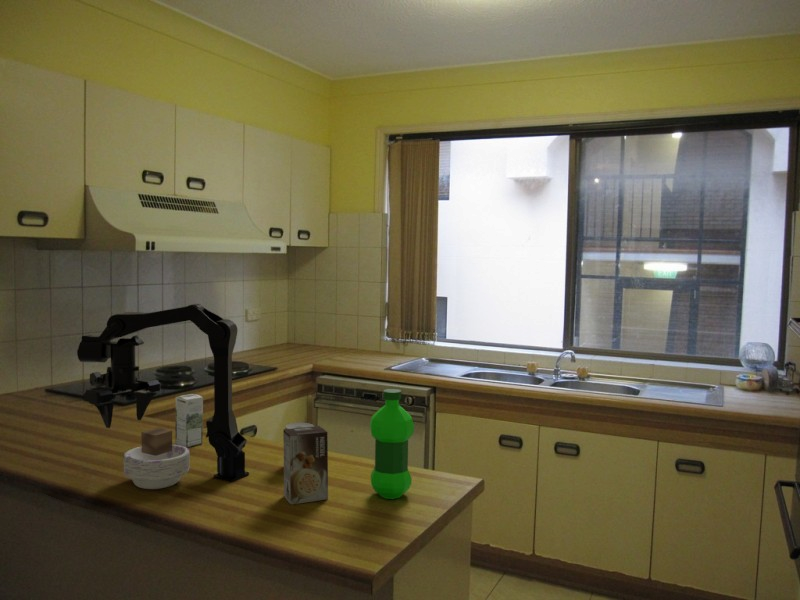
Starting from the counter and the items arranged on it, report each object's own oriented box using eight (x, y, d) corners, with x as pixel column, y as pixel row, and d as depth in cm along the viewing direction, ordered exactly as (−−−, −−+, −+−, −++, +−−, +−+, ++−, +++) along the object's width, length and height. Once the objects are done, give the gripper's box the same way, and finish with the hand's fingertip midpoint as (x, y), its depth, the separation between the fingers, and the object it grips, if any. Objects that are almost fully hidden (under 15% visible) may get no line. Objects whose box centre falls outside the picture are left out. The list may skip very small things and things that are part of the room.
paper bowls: (200, 474, 168) (199, 444, 167) (172, 496, 153) (171, 462, 152) (143, 471, 170) (143, 441, 169) (110, 492, 155) (110, 459, 154)
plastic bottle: (362, 490, 158) (363, 388, 156) (402, 485, 162) (404, 385, 161) (378, 505, 149) (379, 396, 147) (419, 499, 153) (422, 393, 151)
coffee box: (320, 490, 158) (321, 425, 157) (328, 500, 152) (329, 431, 151) (282, 495, 154) (283, 428, 153) (289, 505, 148) (289, 435, 147)
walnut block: (172, 450, 162) (172, 430, 161) (155, 455, 157) (155, 435, 157) (158, 447, 164) (158, 427, 164) (141, 452, 160) (141, 432, 159)
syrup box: (192, 440, 198) (191, 392, 197) (203, 444, 194) (203, 395, 193) (174, 444, 193) (174, 395, 192) (186, 448, 190) (186, 399, 188)
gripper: (132, 355, 177) (133, 412, 178) (68, 364, 161) (69, 427, 162) (161, 359, 172) (162, 417, 173) (98, 369, 155) (99, 434, 157)
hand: (124, 423), depth 166 cm, fingers open, 9 cm apart
